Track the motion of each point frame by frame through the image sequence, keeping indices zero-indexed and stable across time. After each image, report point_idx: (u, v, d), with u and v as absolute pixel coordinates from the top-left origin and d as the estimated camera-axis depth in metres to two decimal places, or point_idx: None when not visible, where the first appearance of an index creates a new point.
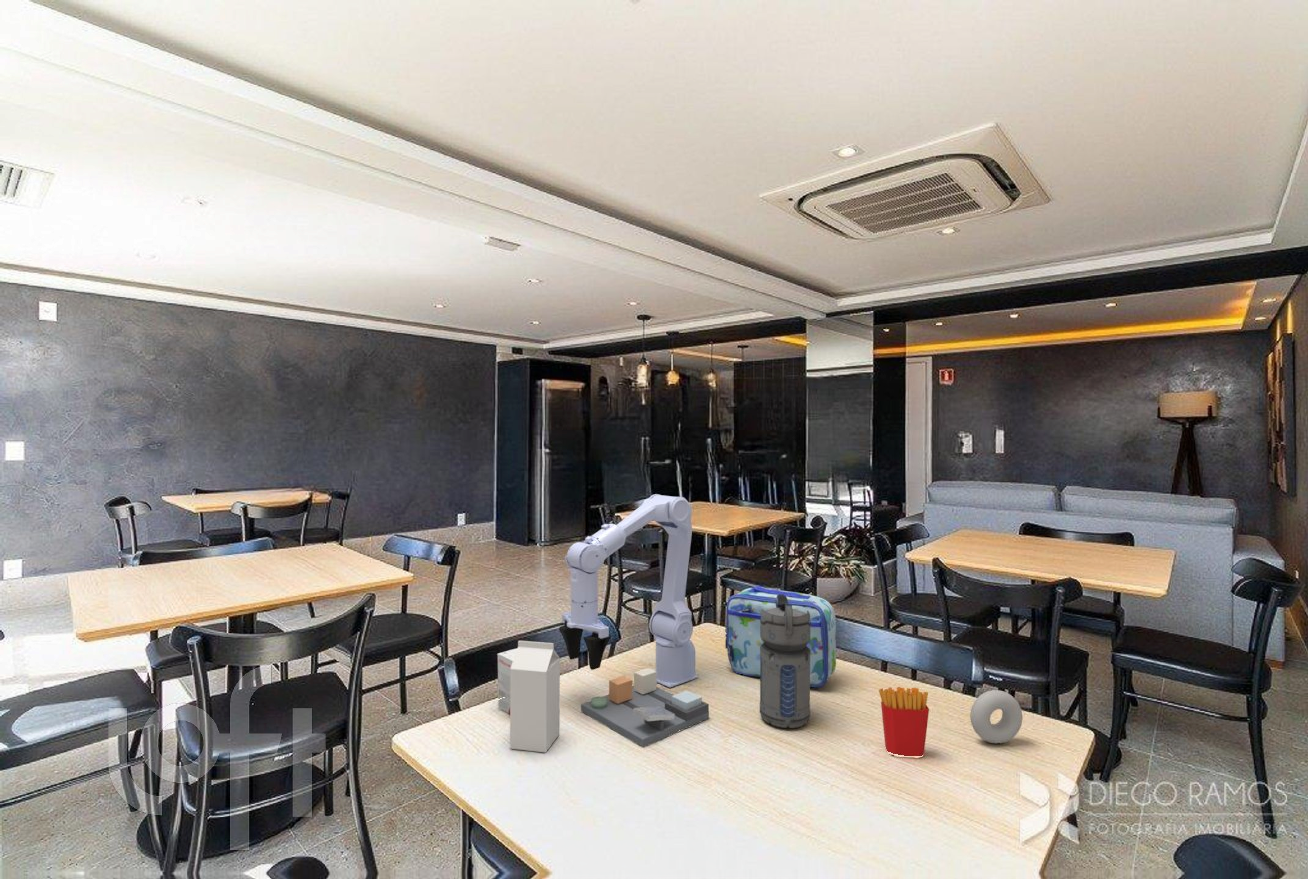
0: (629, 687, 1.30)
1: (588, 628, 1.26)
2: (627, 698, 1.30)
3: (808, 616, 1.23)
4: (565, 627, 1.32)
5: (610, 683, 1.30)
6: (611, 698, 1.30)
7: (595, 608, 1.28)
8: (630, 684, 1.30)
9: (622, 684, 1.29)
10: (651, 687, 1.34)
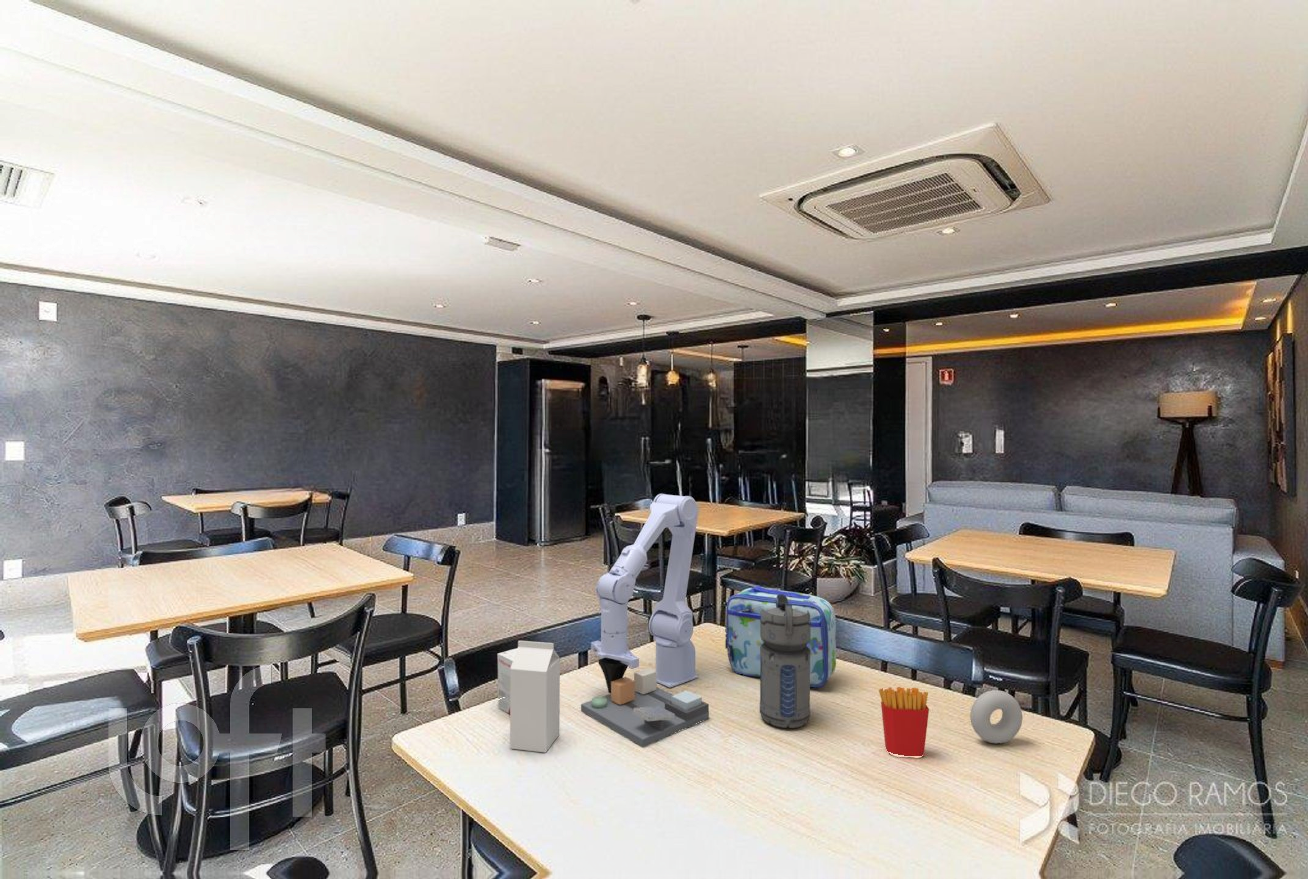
0: (631, 688, 1.30)
1: (619, 658, 1.28)
2: (629, 699, 1.29)
3: (808, 616, 1.23)
4: (604, 660, 1.32)
5: (612, 684, 1.29)
6: (613, 699, 1.29)
7: (625, 638, 1.31)
8: (632, 685, 1.30)
9: (624, 685, 1.28)
10: (651, 687, 1.34)
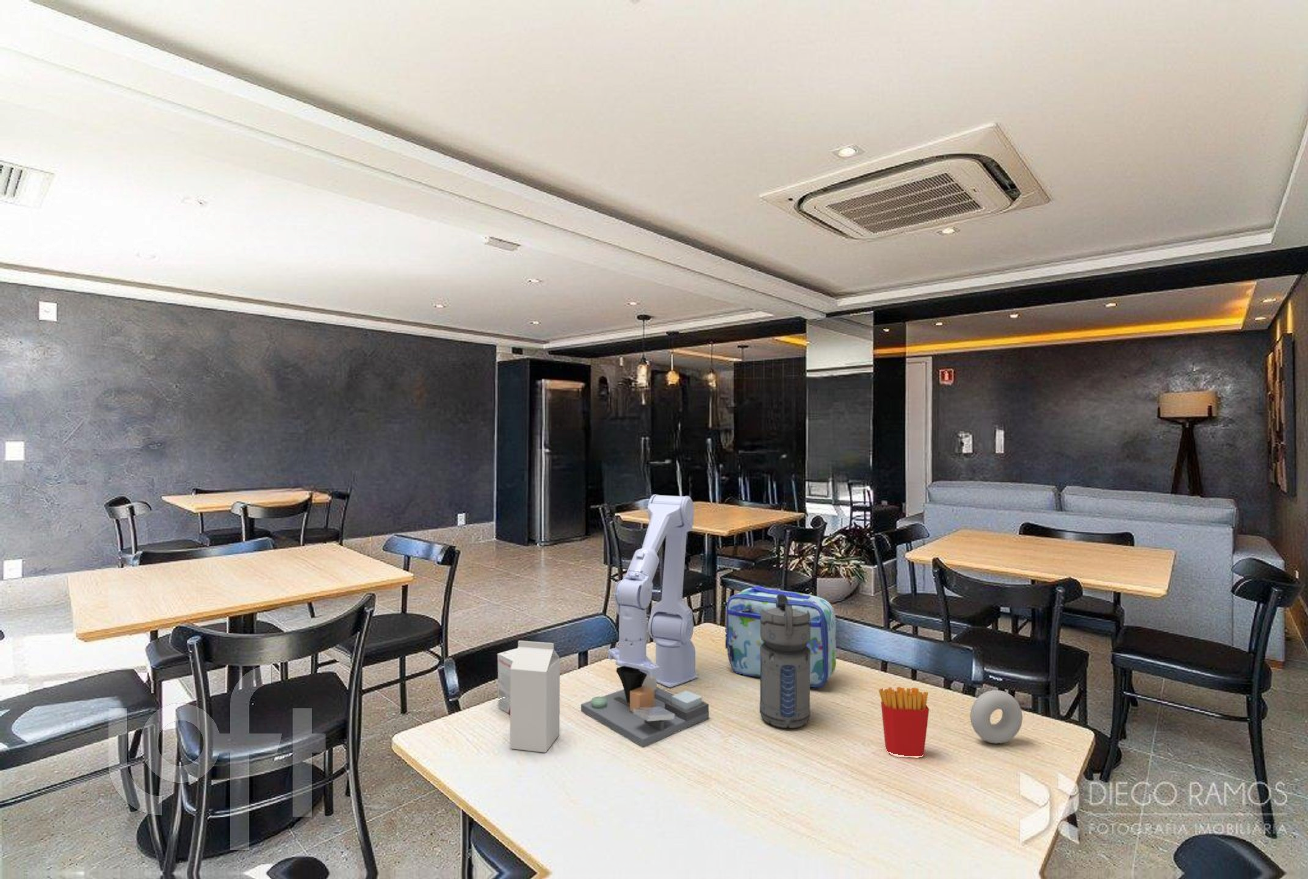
0: (651, 697, 1.25)
1: (638, 667, 1.23)
2: None
3: (808, 616, 1.23)
4: (622, 669, 1.27)
5: (631, 693, 1.25)
6: (632, 709, 1.24)
7: (644, 646, 1.26)
8: (652, 694, 1.25)
9: (644, 695, 1.24)
10: (651, 687, 1.34)
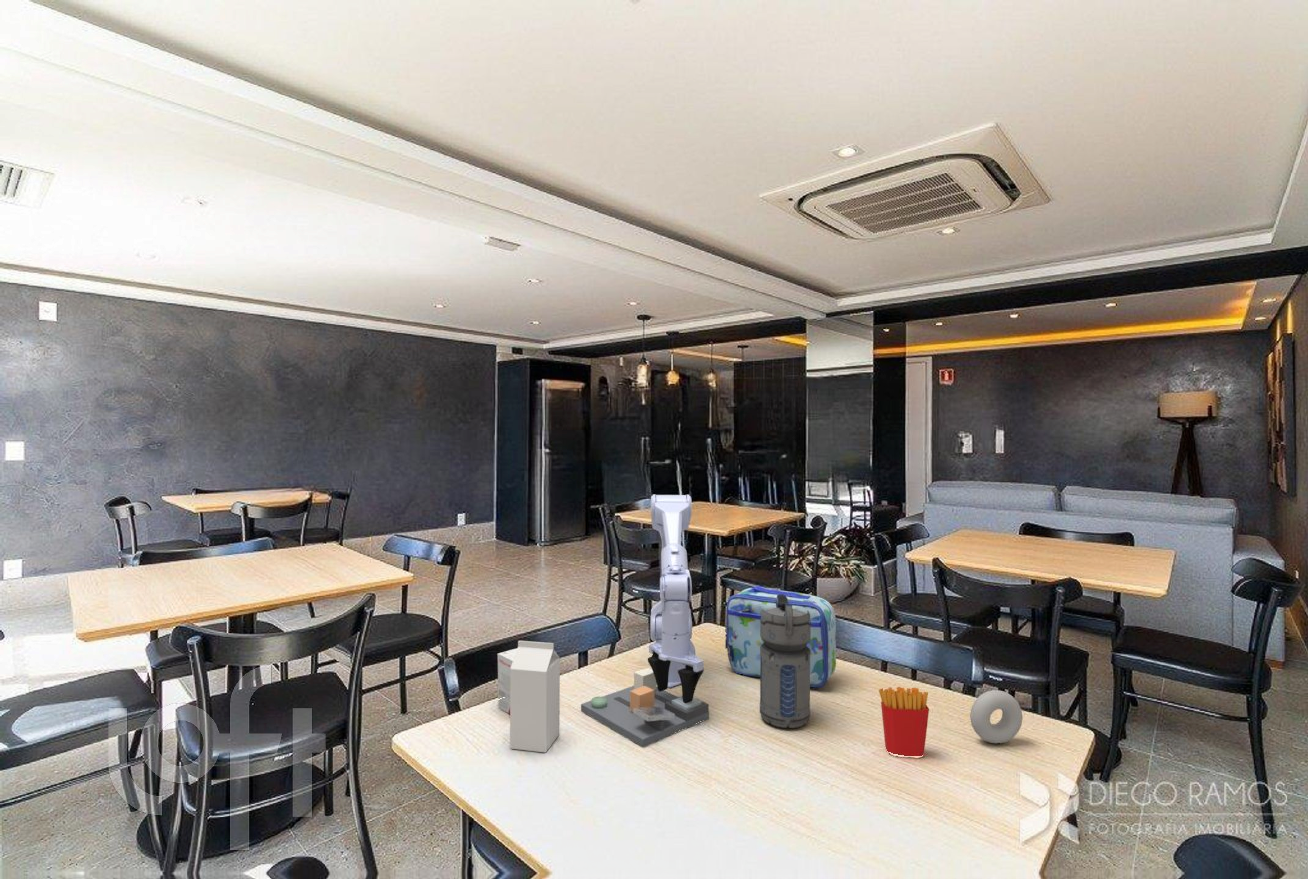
0: (651, 697, 1.25)
1: (682, 661, 1.24)
2: None
3: (808, 616, 1.23)
4: (654, 658, 1.31)
5: (631, 694, 1.25)
6: (632, 709, 1.24)
7: (687, 640, 1.27)
8: (652, 695, 1.25)
9: (644, 695, 1.24)
10: (651, 687, 1.34)
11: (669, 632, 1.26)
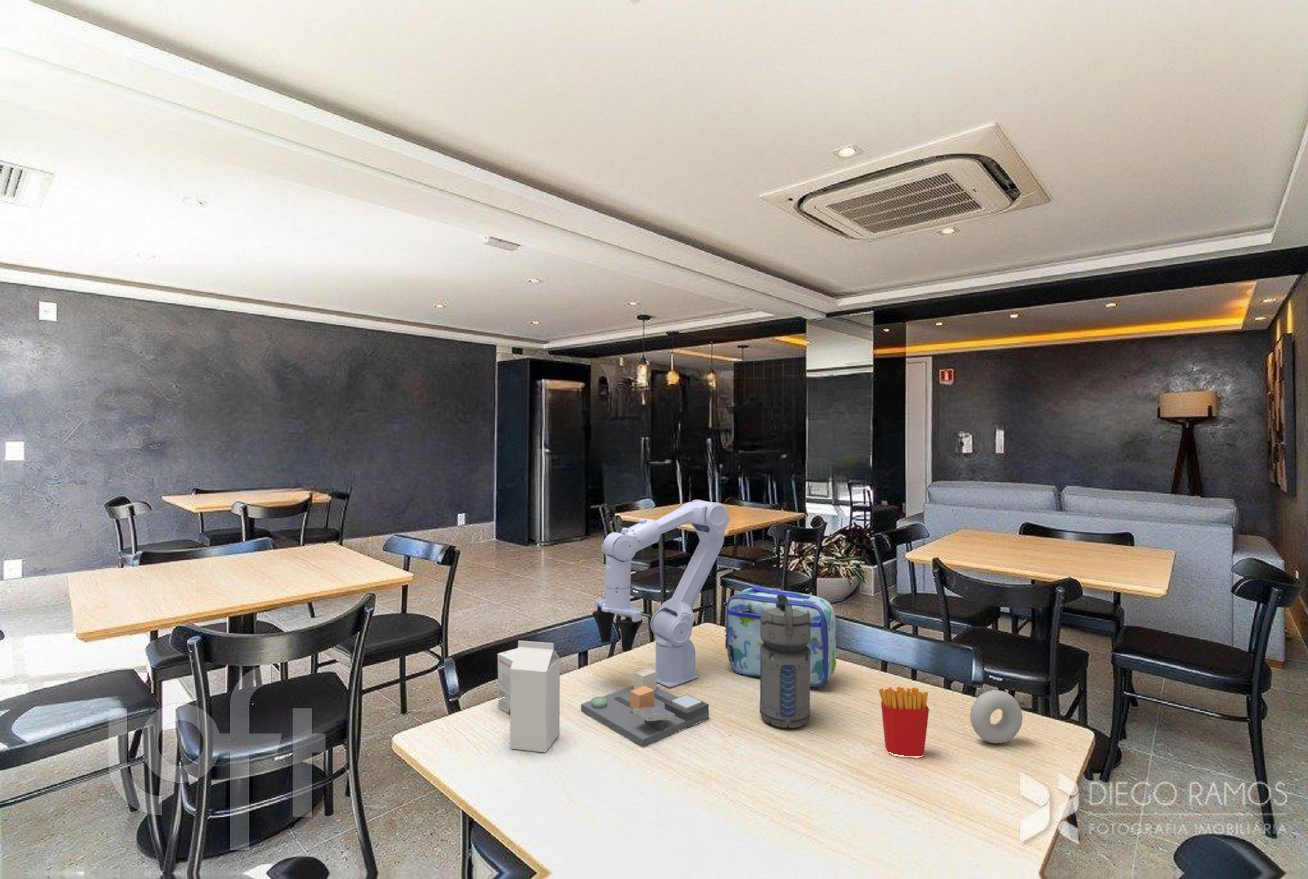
0: (651, 697, 1.25)
1: (622, 612, 1.34)
2: None
3: (808, 616, 1.23)
4: (598, 612, 1.41)
5: (631, 694, 1.25)
6: (632, 709, 1.24)
7: (628, 594, 1.37)
8: (652, 695, 1.25)
9: (644, 695, 1.24)
10: (651, 687, 1.34)
11: (605, 583, 1.38)
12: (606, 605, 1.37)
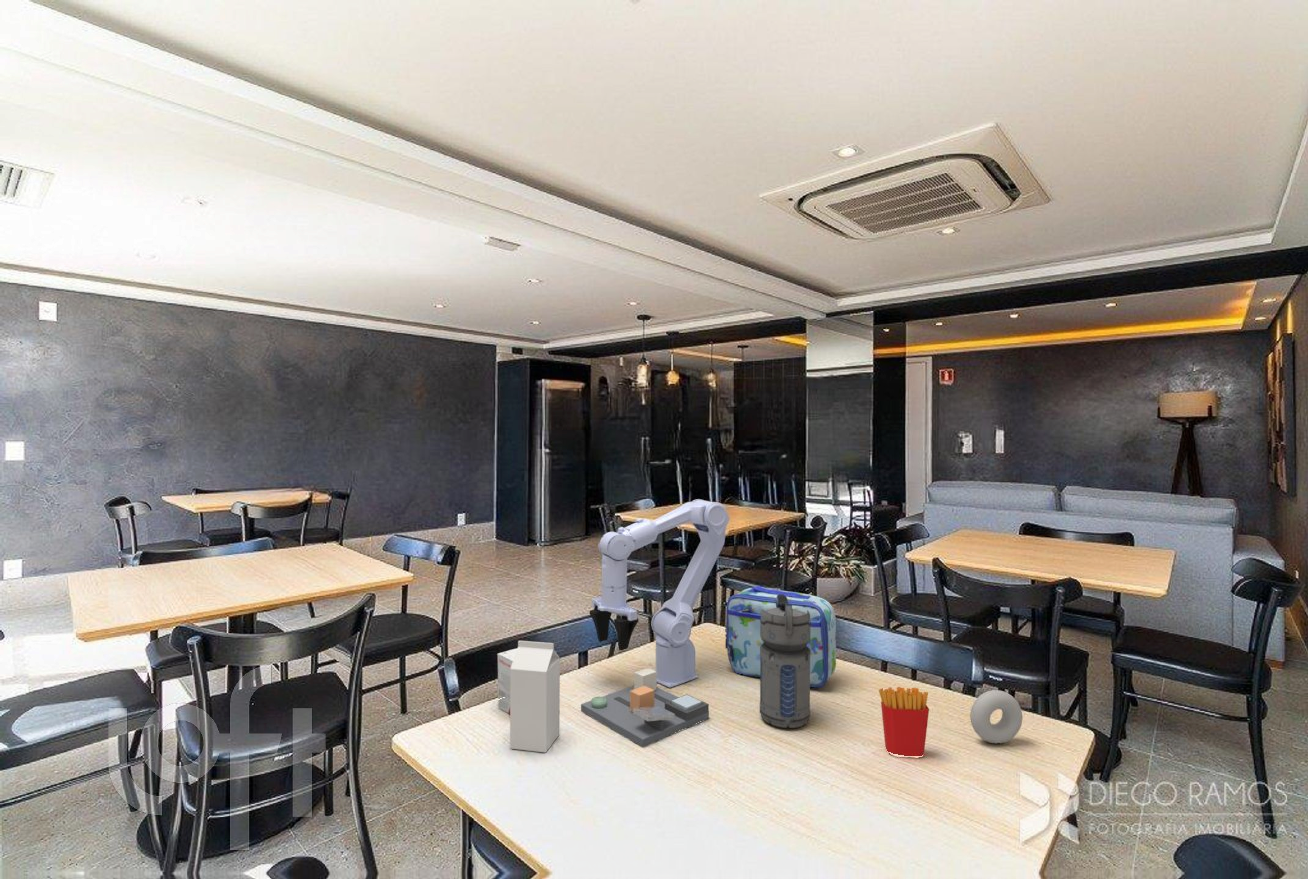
0: (651, 697, 1.25)
1: (618, 611, 1.35)
2: None
3: (808, 616, 1.23)
4: (595, 611, 1.42)
5: (631, 694, 1.25)
6: (632, 709, 1.24)
7: (624, 593, 1.38)
8: (652, 695, 1.25)
9: (644, 695, 1.24)
10: (651, 687, 1.34)
11: None
12: (602, 604, 1.38)
